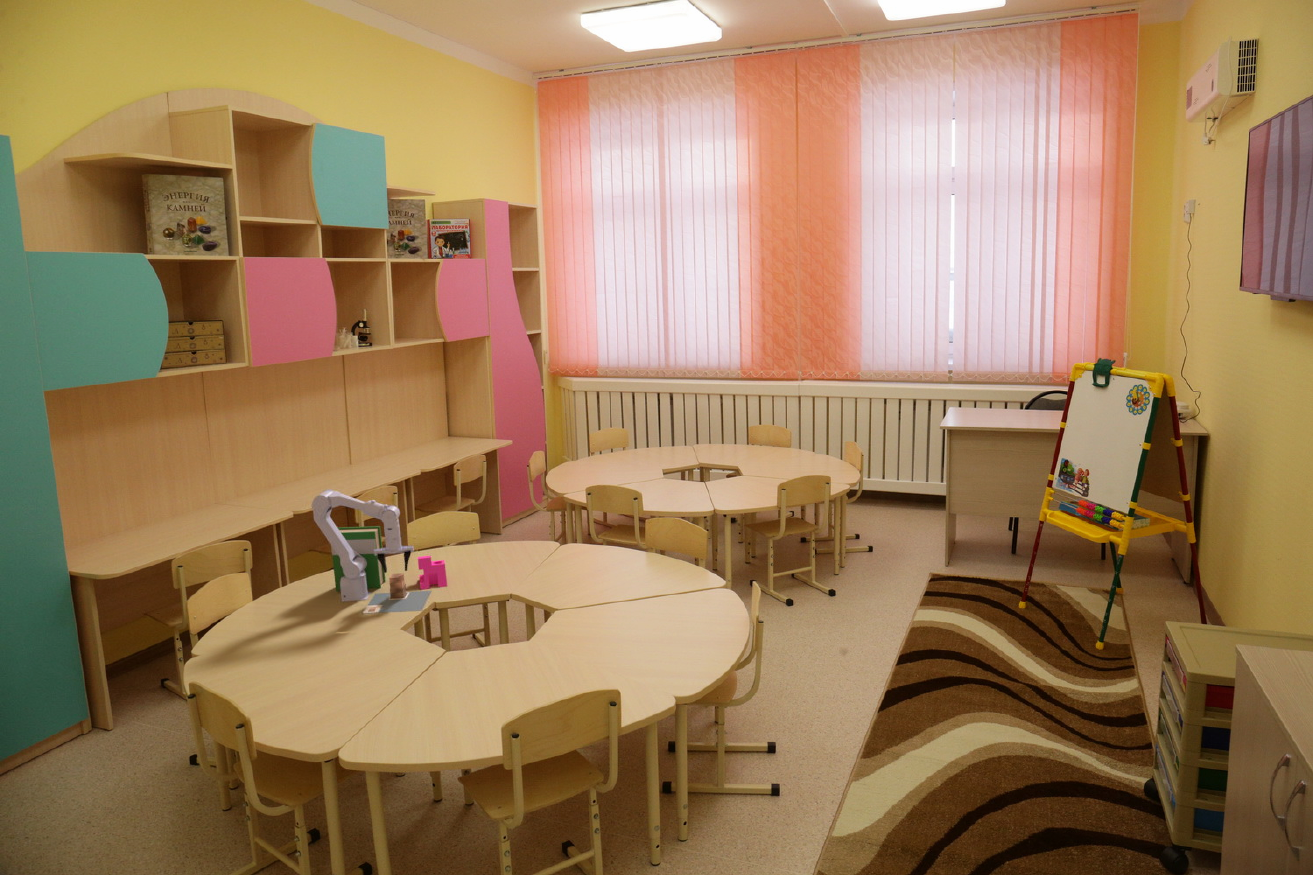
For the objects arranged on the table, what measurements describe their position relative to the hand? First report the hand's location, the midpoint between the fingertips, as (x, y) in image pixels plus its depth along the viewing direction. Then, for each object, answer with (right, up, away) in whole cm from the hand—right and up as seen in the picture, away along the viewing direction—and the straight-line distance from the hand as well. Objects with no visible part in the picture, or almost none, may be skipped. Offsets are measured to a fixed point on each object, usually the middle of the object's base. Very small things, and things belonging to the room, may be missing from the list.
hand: (396, 571), depth 344 cm
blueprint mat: (+2, -12, -5) cm, 13 cm away
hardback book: (-18, -9, +14) cm, 24 cm away
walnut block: (+1, -10, +1) cm, 10 cm away
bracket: (+11, -8, +14) cm, 19 cm away
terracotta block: (+1, -6, 0) cm, 6 cm away
